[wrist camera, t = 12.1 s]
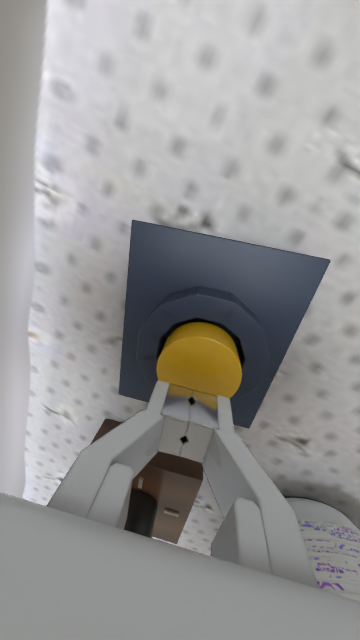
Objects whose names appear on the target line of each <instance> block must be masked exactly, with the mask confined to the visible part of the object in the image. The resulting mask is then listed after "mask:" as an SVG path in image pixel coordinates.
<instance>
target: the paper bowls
mask: <svg viewBox="0 0 360 640" xmlns="http://www.w3.org/2000/svg"><path fill="white" fill-rule="evenodd" d="M285 499H286V500H287V502H288V503H289V505H290V506H291V507H292V509H293V510H294V512H295V515H296V518H297V521H298V524H299V527H300V530H301V534H302V537H303V540H304V543H305V546H306V549H307V552H308V556H309V559H310V562H311V565H312V568H313V571H314V574H315V578H316V581H317V584H318V587H319V589H321V590H324V591H327V592H330V593H334V594H337V595H340V596H344V597H347V598H350V599H353V600H357V601H360V530H359V529H358V528H357V527H356V526H355V525H354V524H353V523H352V522H351V521H350V520H349V519H348V518H347V517H346V516H345V515H343V514H342V513H341V512H339V511H338V510H336V509H334V508H332V507H331V506H328V505H326V504H323V503H321V502H317V501H314V500H309V499H302V498H285Z"/></svg>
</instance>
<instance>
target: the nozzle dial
mask: <svg viewBox="0 0 360 640" xmlns="http://www.w3.org/2000/svg"><path fill="white" fill-rule="evenodd" d="M156 512H157V504H156V502H155V501H154V499H153V498H151V497H150V496H148V495H147V494H145V493H143V492H140V491H136V490H131V494H130V501H129V507H128V514H127V520H126V523H125V527H124V530H127V531H130V532H133V533H136V534H140V535H143V536H146V537H150V538H152V532H153V527H154V522H155V517H156Z"/></svg>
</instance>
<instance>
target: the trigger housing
mask: <svg viewBox="0 0 360 640" xmlns="http://www.w3.org/2000/svg"><path fill="white" fill-rule="evenodd" d="M330 261H331V260H329V259H324V258H319V257H314V256H309V255H304V254H299V253H294V252H290V251H285V250H280V249H275V248H270V247H265V246H260V245H255V244H250V243H245V242H240V241H235V240H230V239H226V238H221V237H216V236H211V235H206V234H201V233H196V232H191V231H186V230H181V229H176V228H171V227H166V226H162V225H157V224H152V223H147V222H142V221H137V220H132V226H131V239H130V252H129V265H128V278H127V291H126V305H125V318H124V331H123V344H122V357H121V370H120V383H119V395H123V396H127V397H130V398H134V399H138V400H142V401H146V402H149V400H150V398H151V395H152V393H153V390H154V388H155V385H156V382H157V381H158V376H157V369H156V368H157V362H158V359H159V356H160V354H161V352H162V349H163V347H164V345H165V343H166V340H167V338H168V337H169V335H170V334H171V333H172V332H173V331H174V330H175V329H177V328H178V327H180V326H182V325H185V324H188V323H192V322H205V323H210V324H213V325H216V326H218V327H220V328H221V329H223V330H224V331H226V332H227V333H228V334H229V335H230V336H231V338H232V339H233V341H234V343H235V345H236V348H237V352H238V356H239V360H240V364H241V368H242V380H241V383H240V386H239V388H238V390H237V391H236V393H235V394H234V395H233V396H232V397H231V398H230V404H231V411H232V418H233V424H234V425H237V426H241V427H245V428H250V426H251V424H252V422H253V420H254V417H255V415H256V413H257V411H258V409H259V407H260V405H261V403H262V401H263V399H264V397H265V395H266V393H267V391H268V389H269V387H270V385H271V382H272V380H273V378H274V376H275V374H276V372H277V370H278V368H279V366H280V364H281V362H282V360H283V358H284V356H285V354H286V352H287V350H288V348H289V345H290V343H291V341H292V339H293V337H294V335H295V333H296V331H297V329H298V327H299V325H300V323H301V321H302V319H303V317H304V315H305V313H306V311H307V308H308V306H309V304H310V302H311V300H312V298H313V296H314V294H315V292H316V290H317V288H318V286H319V284H320V282H321V280H322V278H323V276H324V274H325V271H326V269H327V267H328V265H329V263H330Z"/></svg>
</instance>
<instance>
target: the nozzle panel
mask: <svg viewBox="0 0 360 640" xmlns="http://www.w3.org/2000/svg"><path fill="white" fill-rule="evenodd" d="M120 424H122V423H119V422H116V421H112V420H108V419H105V420H104V422H103V424H102V425H101V427H100V429H99V431H98V432H97V434H96V436H95V437H94V439H93V441H92V442H91V444H92V443H94V442H95V441H96V440H98V439H99V438H101V437H102V436H104V435H105V434H107V433H108V432H110V431H111V430H113V429H114V428H116V427H117V426H119V425H120ZM91 444H90V445H91ZM202 481H203V466H202V463H200V462H197V461H193V460H190V459H187V458H184V457H180V456H176V455H172V454H168V453H164V452H160V451H157V453H156V454H155V455H154V457H153V458H152V459H151V460H150V461H149V462H148V463H147V464H146V465H145V466H144V468H143V469H142V470H141V471H140V472H139V473H138V474H137V475H136V476H135V477H134V479H133V480H132V487H131V490H136V491H140V492H143V493H145V494H147V495H148V496H150V497H151V498H153V499H154V501H155V502H156V504H157V512H156V517H155V522H154V527H153V532H152V537H156V538H159V539H162V540H165V541H169V542H172V543H175V544H177V542H178V539H179V537H180V535H181V532H182V530H183V527H184V525H185V522H186V520H187V517H188V515H189V512H190V510H191V508H192V505H193V503H194V500H195V498H196V495H197V493H198V490H199V488H200V486H201V483H202Z"/></svg>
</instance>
